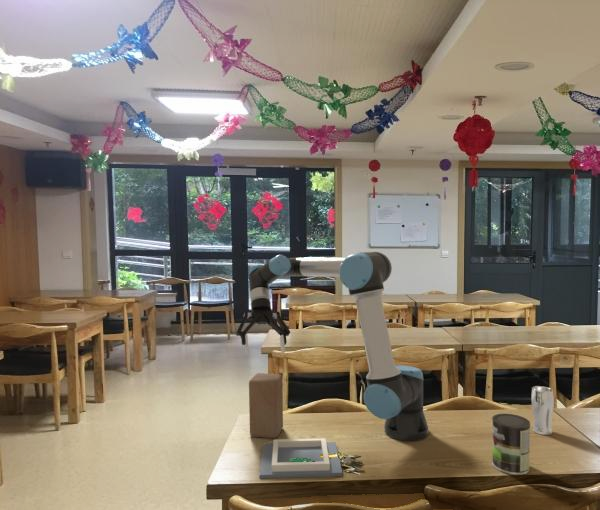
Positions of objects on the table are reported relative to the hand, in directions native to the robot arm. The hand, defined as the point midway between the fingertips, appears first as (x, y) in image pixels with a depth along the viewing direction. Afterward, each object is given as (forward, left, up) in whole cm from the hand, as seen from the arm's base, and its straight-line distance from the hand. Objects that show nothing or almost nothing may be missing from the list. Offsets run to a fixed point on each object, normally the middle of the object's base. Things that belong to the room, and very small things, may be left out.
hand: (265, 352), depth 168 cm
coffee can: (-79, +19, -28) cm, 86 cm away
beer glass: (-97, -8, -28) cm, 101 cm away
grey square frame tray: (-16, +23, -28) cm, 39 cm away
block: (-1, +4, -28) cm, 28 cm away
